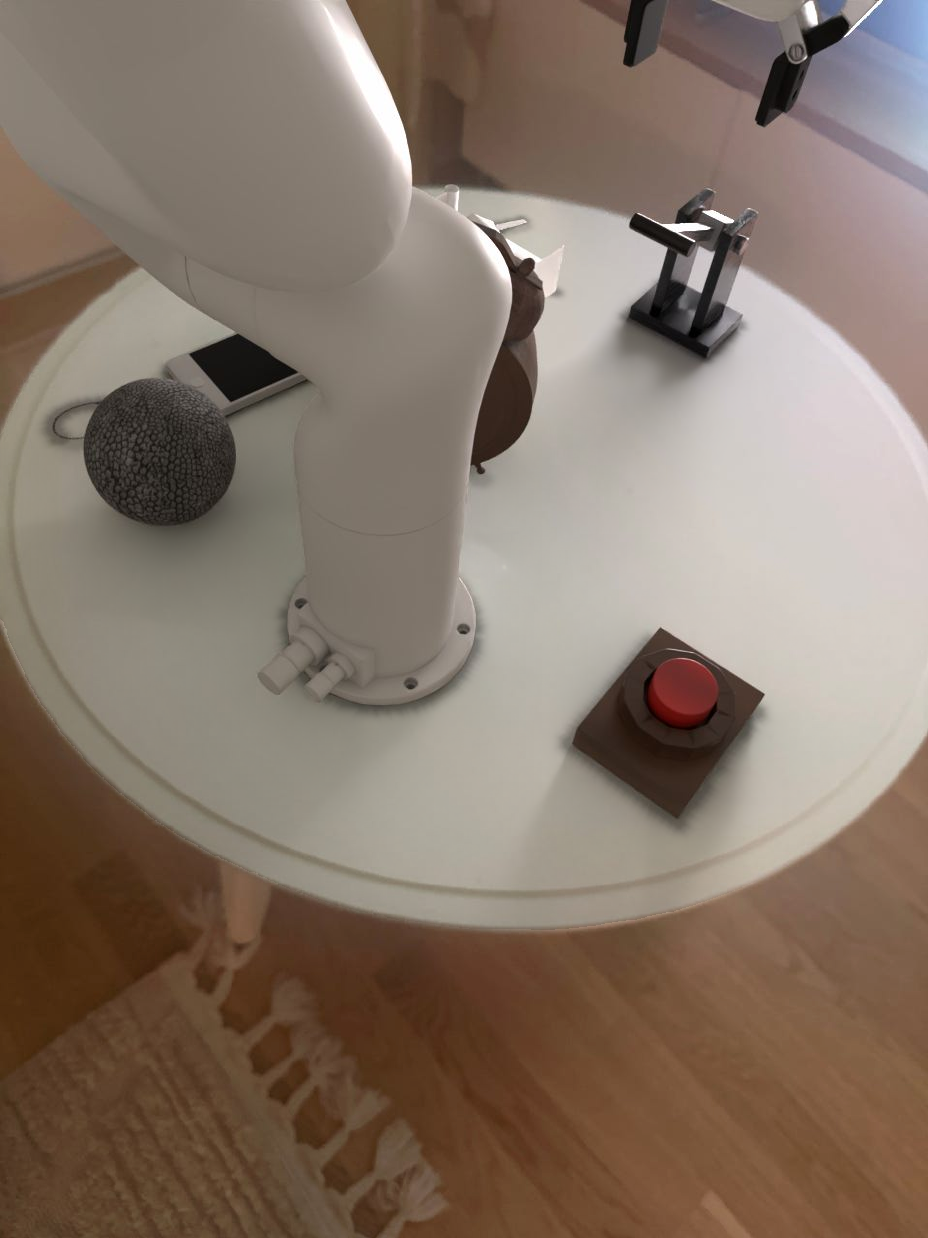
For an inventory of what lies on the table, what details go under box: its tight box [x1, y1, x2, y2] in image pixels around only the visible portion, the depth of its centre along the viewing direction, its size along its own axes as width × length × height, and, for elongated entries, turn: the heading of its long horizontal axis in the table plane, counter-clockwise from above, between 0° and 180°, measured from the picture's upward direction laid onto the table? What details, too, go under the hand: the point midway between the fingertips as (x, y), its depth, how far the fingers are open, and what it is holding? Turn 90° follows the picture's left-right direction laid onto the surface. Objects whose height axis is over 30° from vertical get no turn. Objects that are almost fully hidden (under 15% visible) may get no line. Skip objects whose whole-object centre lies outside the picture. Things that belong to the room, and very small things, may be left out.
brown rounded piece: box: [470, 221, 546, 476], centre depth 68 cm, size 14×7×20 cm, turn 84°
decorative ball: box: [82, 377, 237, 527], centre depth 67 cm, size 10×10×10 cm
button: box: [647, 658, 718, 728], centre depth 60 cm, size 4×4×2 cm
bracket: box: [628, 187, 759, 359], centre depth 83 cm, size 6×8×11 cm
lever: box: [628, 210, 734, 257], centre depth 76 cm, size 13×5×2 cm, turn 142°
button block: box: [571, 626, 766, 820], centre depth 62 cm, size 10×8×4 cm
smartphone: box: [165, 332, 308, 417], centre depth 80 cm, size 7×15×1 cm, turn 128°
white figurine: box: [435, 183, 565, 300], centre depth 83 cm, size 13×12×8 cm
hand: (702, 87), depth 62 cm, fingers open, 9 cm apart
